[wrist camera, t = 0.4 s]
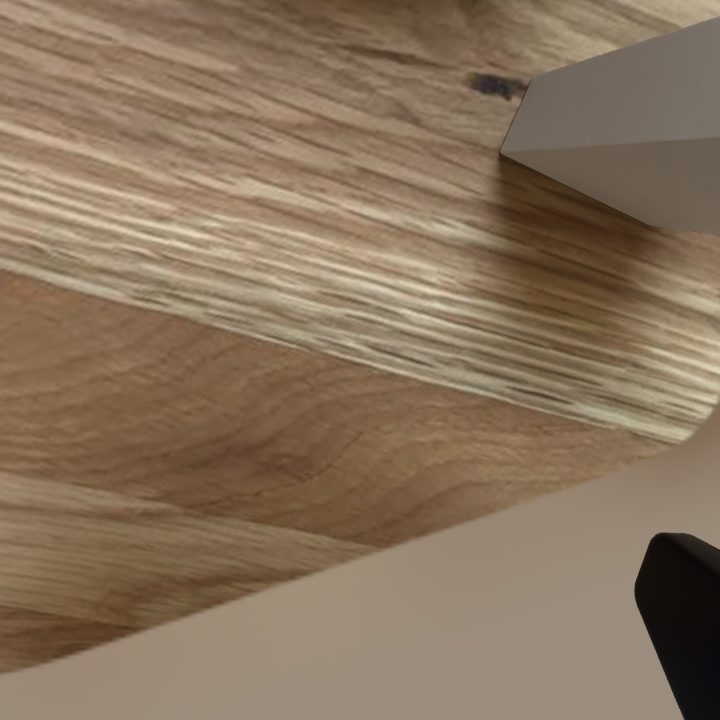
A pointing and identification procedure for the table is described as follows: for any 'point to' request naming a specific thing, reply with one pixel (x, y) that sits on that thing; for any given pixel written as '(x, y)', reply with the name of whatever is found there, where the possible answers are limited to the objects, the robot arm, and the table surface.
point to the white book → (633, 128)
